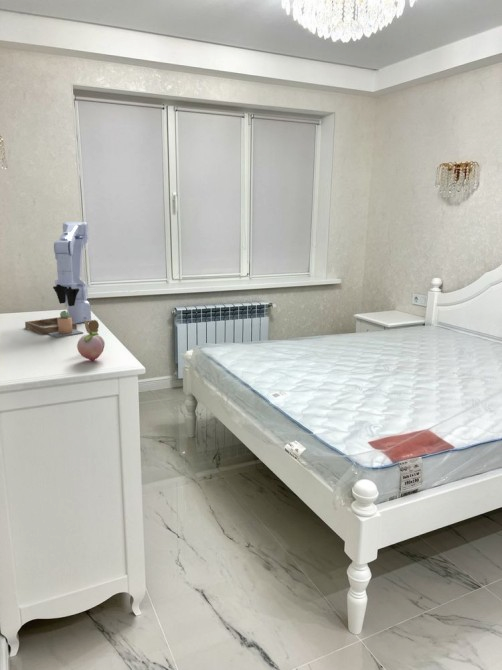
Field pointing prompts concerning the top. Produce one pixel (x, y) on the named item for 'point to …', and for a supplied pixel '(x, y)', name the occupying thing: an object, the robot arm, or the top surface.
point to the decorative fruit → (91, 346)
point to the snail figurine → (91, 326)
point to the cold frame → (38, 323)
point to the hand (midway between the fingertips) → (66, 304)
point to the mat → (56, 334)
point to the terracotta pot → (64, 323)
